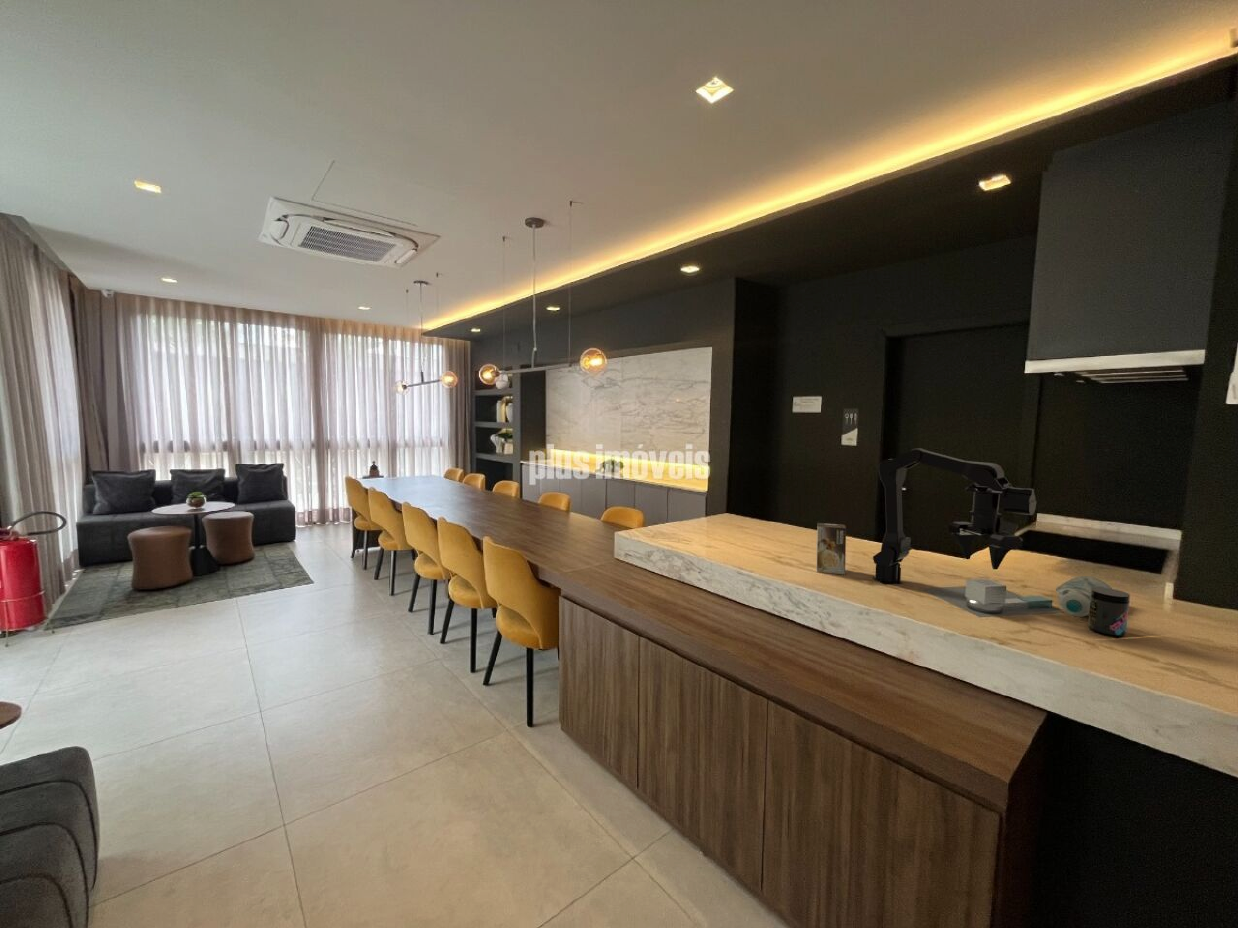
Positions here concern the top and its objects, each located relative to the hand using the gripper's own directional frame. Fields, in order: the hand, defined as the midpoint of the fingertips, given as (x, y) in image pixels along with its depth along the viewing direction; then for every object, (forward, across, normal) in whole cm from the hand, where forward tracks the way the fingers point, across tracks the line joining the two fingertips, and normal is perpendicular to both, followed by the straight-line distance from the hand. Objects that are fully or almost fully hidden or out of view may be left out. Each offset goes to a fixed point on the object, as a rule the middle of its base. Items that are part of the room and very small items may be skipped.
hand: (980, 564), depth 137 cm
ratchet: (+11, -3, -6) cm, 14 cm away
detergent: (+12, -6, -26) cm, 29 cm away
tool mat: (+12, +3, -5) cm, 13 cm away
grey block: (+9, -3, +1) cm, 10 cm away
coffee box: (+13, +34, +25) cm, 44 cm away
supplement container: (+12, -20, -16) cm, 28 cm away
